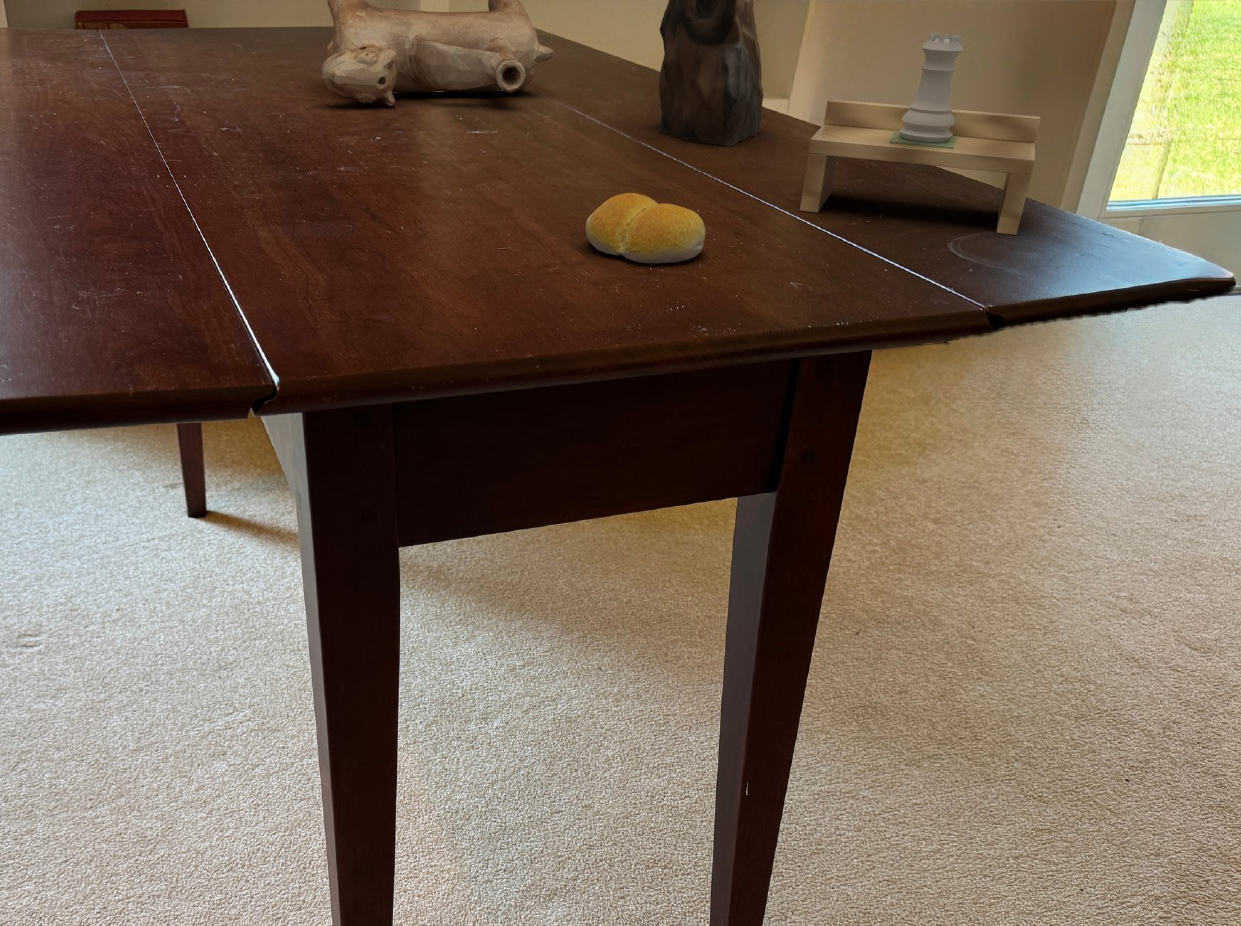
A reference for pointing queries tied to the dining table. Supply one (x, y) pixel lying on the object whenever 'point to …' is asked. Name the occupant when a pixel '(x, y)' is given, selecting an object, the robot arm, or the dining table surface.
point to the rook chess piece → (933, 92)
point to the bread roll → (645, 230)
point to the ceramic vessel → (429, 50)
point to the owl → (710, 71)
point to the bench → (924, 150)
